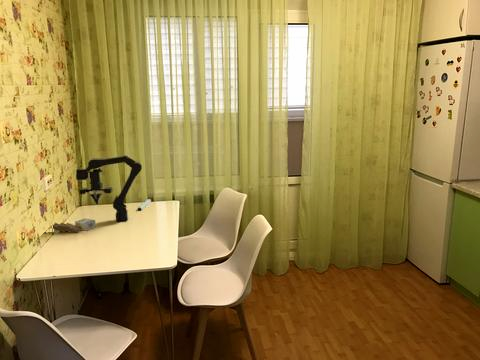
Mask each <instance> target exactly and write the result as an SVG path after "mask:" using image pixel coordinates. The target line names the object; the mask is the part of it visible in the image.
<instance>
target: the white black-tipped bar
mask: <svg viewBox="0 0 480 360" xmlns="http://www.w3.org/2000/svg"><path fill="white" fill-rule="evenodd" d="M151 202H152V199H150V198H148V199H146V200H145V201H144V202H143V203H142V204H140V205H139V206H138V207H137V208H136V211H138V212H139V210H140V211H141V210H142V211H143V210H145V208H147V206H148V205H149V204H150V203H151Z"/></svg>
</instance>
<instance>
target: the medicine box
mask: <svg viewBox="0 0 480 360" xmlns="http://www.w3.org/2000/svg"><path fill="white" fill-rule="evenodd" d="M74 225H75V226H78V227H81V228H80V230H79V231H88V230H91V229H94V228H95V227H97V226H96V219H91V218H82V219H80V220H77V221H74Z"/></svg>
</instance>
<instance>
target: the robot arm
mask: <svg viewBox="0 0 480 360" xmlns="http://www.w3.org/2000/svg"><path fill="white" fill-rule="evenodd" d="M122 163H125V164H126V165H127V166H129V167H130V172H129V175H128V177H127V179H126V181H125V183H124V185H123V187H122V189H121V191H120V192H119V194H118V195H117V194H115V197H114V199H113V200H112V208H113V209H114V210H116V213H115V220H116V221H115V222H116V223H122V222H127V221H128V220H129V215H128V209H127V208H128V207H127V205H126V204H125V199H126V196H127V194H128V192H129V190H130V188H131V187H132V185H133V182H134V180H135V179H136V177H137V176H138V175H139V173H140V172H142V169H143V168H142V167H143V165H142V163H141V162H140V161H136V160H134V159H132V157H131V158H130V157H129V156H128V155H121V156H119V155H118V156H115V157H114V156H113V157H108V158H107V157H105V158H100V157H99V158H95V157H93V158H91V159H90V160H89V161H88V163H87V167H86V168H76V170H75V171H76V174H75V179H76V181H86V180H88V179H89V181H90V182H89V184H90V188H89V187H81V188H80V189H79V190H78V194H79V195H85V194H86V193H89V194H88V196H90V197H91V198H92V200H93V201H94V203H95V204H96V205H99V201H100V198H101V196H103V194H112V192H113V191H114V190H113V187H112V186H106V187H105V188H104V186H103V183H102V182H101V181H102V180H101V173H102V172H103V168H101V167H104V166H108V165H109V166H110V165H115V164H122Z"/></svg>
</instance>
